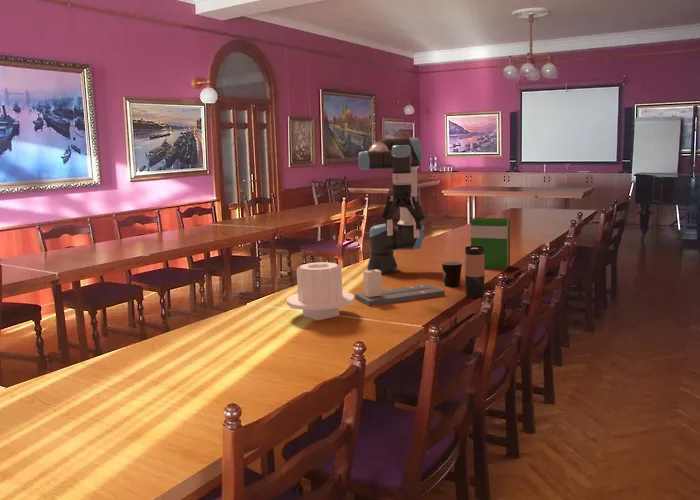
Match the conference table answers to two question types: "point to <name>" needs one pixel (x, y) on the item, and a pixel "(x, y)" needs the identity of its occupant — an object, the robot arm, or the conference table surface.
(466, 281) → the travel mug
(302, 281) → the ribbed cylinder on disc
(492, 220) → the hardback book
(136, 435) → the conference table surface
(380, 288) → the fader tab
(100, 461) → the conference table surface
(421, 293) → the fader console
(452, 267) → the coffee mug
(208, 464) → the conference table surface
